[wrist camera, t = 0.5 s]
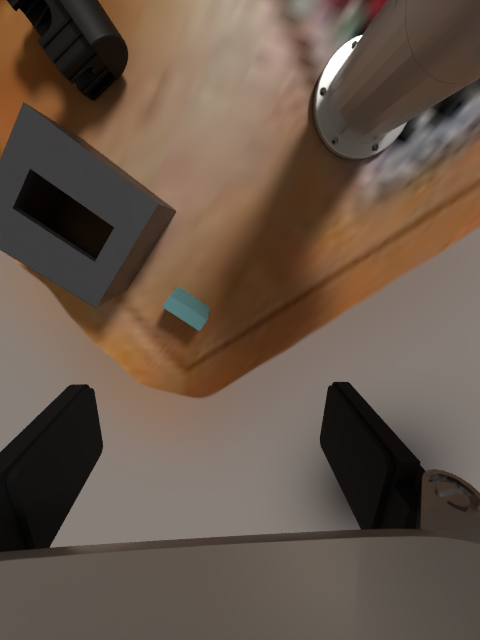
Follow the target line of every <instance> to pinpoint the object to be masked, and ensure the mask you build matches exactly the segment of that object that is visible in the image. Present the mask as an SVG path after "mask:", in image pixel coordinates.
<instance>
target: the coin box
mask: <svg viewBox="0 0 480 640" xmlns="http://www.w3.org/2000/svg"><path fill="white" fill-rule="evenodd" d="M66 194H67V195H69V196H70V197H71V198H73V199H74V200H76V201H77V202H79V203H80V204H81V205H83V206H84V207H86V208H87V209H89V210H90V211H91V212H93V213H94V214H96V215H97V216H99V217H100V218H101V219H103V220H104V221H106V222H107V223H109V224H110V225H111V226H113V227H114V229H113V231H112V232H111V234H110V236H109V238H108V239H107V241H106V243H105V245H104V247H103V248H102V250H101V252H100V254H99V255H98V257H97V259H95V258H94V257H92V256H91V255H89V254H88V253H86V252H85V251H83V250H82V249H80V248H79V247H77V246H75V245H74V244H72V243H71V242H69V241H68V240H66V239H65V238H63V237H62V236H60V235H59V234H57V233H56V232H54V231H53V230H51V229H49V228H50V225H51V223H52V221H53V219H54V217H55V215H56V213H57V211H58V209H59V207H60V205H61V203H62V201H63V199H64V197H65V195H66ZM175 212H176V210H175V209H173V208H172V207H171V206H169V205H168V204H167V203H165V202H164V201H163V200H161V199H160V198H159V197H158V196H156V195H155V194H154V193H152V192H151V191H150V190H148V189H147V188H146V187H144V186H143V185H142V184H141V183H139V182H138V181H137V180H135V179H134V178H133V177H131V176H130V175H129V174H128V173H126V172H125V171H124V170H122V169H121V168H120V167H118V166H117V165H116V164H114V163H113V162H112V161H111V160H109V159H108V158H107V157H105V156H104V155H103V154H101V153H100V152H99V151H97V150H96V149H95V148H94V147H92V146H91V145H90V144H88V143H87V142H86V141H84V140H83V139H82V138H80V137H78V136H77V135H75V134H74V133H72V132H70V131H69V130H67V129H66V128H64V127H62V126H61V125H59V124H58V123H56V122H55V121H53V120H51V119H50V118H48V117H47V116H45V115H43V114H42V113H40V112H39V111H37V110H35V109H34V108H32V107H31V106H29V105H27V104H26V103H24V102H23V105H22V107H21V109H20V112H19V114H18V117H17V119H16V122H15V124H14V127H13V129H12V132H11V134H10V137H9V139H8V142H7V144H6V147H5V149H4V151H3V154H2V156H1V159H0V250H1V251H3V252H4V253H6V254H8V255H9V256H11V257H13V258H14V259H16V260H18V261H19V262H21V263H23V264H24V265H26V266H28V267H29V268H31V269H32V270H34V271H36V272H37V273H39V274H41V275H42V276H44V277H46V278H47V279H49V280H51V281H52V282H54V283H56V284H57V285H59V286H61V287H62V288H64V289H66V290H67V291H69V292H70V293H72V294H74V295H75V296H77V297H79V298H80V299H82V300H84V301H85V302H87V303H89V304H90V305H92V306H94V307H95V308H97V307H98V306H100V305H102V304H103V303H105V302H107V301H109V300H110V299H112V298H114V297H115V296H117V295H119V294H120V293H122V292H124V291H125V290H127V289H128V288H129V286H130V285H131V283H132V281H133V280H134V278H135V277H136V275H137V273H138V272H139V270H140V269H141V267H142V265H143V264H144V262H145V260H146V259H147V257H148V256H149V254H150V252H151V251H152V249H153V248H154V246H155V244H156V243H157V241H158V240H159V238H160V236H161V235H162V233H163V232H164V230H165V228H166V227H167V225H168V224H169V222H170V220H171V219H172V217H173V216H174V214H175Z"/></svg>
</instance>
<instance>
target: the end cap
mask: <svg viewBox="0 0 480 640" xmlns="http://www.w3.org/2000/svg"><path fill="white" fill-rule="evenodd" d="M7 1H8V2H9V4H10V5H11V6H12V8H13V9H14V10H15V11H17V10H18V9H19V8H20V9H21V11H22V12H23V13H24V14H25V15H26V17H27V18H28V19H29V21H30V22H31V23H32V25H33V26H34V27H35V29H36V30H37V31H38V33H39V34H40V35H41V38H40V39H39V40H38V42H39V44H40V45H41V46H42V48H43V49H44V51H45V52H46V53H47V55H48V56H49V57H50V59H51V60H52V61H53V63H54V64H55V65H56V67H57V68H58V69H59V70H60V72H61V73H62V74H63V75H64V76H65V77H66V78H67V79H68V80H69V81H70V82H71V83H72V84H73V83H74V82H75V83H76V84H77V86H76V87H77V88H78V89H79V91H81V92H82V93H83V94H84V95H85V96H87V97H88V98H90V99H91V100H95V99H97V98H98V97H99V96H100V95H101V94H102V93H103V92H104V91H105V90H106V89H107V88H108V87H109V86H110V85H111V84H112V83H114V82H115V81H116V80H117V79H118V78H119V77H120V76H121V74H122V73H123V71H124V69H125V67H126V65H127V60H128V49H127V46H126V43H125V41H124V40H123V38H122V37H121V35H120V34H119V32H118V30H117V29H116V27H115V26H114V24H113V23H112V21H111V20H110V18H109V17H108V15H107V14H106V12H105V11H104V9H103V8H102V6H101V4H100V3H99V1H98V0H7Z"/></svg>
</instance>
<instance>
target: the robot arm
mask: <svg viewBox="0 0 480 640" xmlns="http://www.w3.org/2000/svg"><path fill="white" fill-rule="evenodd" d="M352 49H353V50H352ZM478 78H480V0H387V1H386V2H385V4H384V5H383V6H382V8H381V9H380V11H379V12H378V14H377V15H376V17H375V18H374V19H373V21H372V22H371V24H370V25H369V27H368V28H367V30H366V31H365V32H364V34H363V35H360V36H357V37H354V38H353V39H351V40H349V41H347V42H346V43H345V44H343V45H342V46H341V47H340V48H339V49H338V50H337V51H336V52H335V53H334V54H333V56H332V57H331V58H330V59H329V61H328V63H327V64H326V66H325V67H324V69H323V71H322V73H321V76H320V78H319V80H318V83H317V86H316V90H315V95H314V102H313V110H314V120H315V125H316V128H317V131H318V134H319V136H320V138H321V139H322V141H323V143H324V144H325V145H326V146H327V147H328V149H329V150H330V151H332V152H333V153H335V154H336V155H338V156H340V157H342V158H345V159H351V160H359V159H365V158H368V157H371V156H373V155H376V154H378V153H379V152H381V151H382V150H384V149H386V148H387V147H388V146H389V145H390V144H391V143H393V142H394V141H395V139H396V138H397V137H398V136H399V134H400V133H401V132H402V130H403V128H404V127H405V125H406V123H407V121H409V120H410V119H412V118H414V117H415V116H417V115H419V114H420V113H422V112H424V111H425V110H427V109H429V108H430V107H432V106H434V105H435V104H437V103H439V102H440V101H442V100H444V99H445V98H447V97H449V96H450V95H452V94H454V93H455V92H457V91H459V90H460V89H462V88H463V87H465V86H467V85H468V84H470V83H472V82H473V81H475V80H477V79H478ZM320 93H321V94H322V96H321V95H320ZM332 141H334V144H332ZM372 148H373V150H372ZM320 444H321V448H322V450H323V452H324V454H325V456H326V458H327V460H328V462H329V464H330V466H331V468H332V470H333V472H334V475H335V476H336V479H337V481H338V483H339V485H340V487H341V489H342V491H343V493H344V495H345V497H346V499H347V501H348V503H349V505H350V507H351V510H352V512H353V514H354V516H355V518H356V520H357V522H358V524H359V526H360V528H361V530H339V531H319V532H301V533H281V534H262V535H245V536H229V537H228V536H227V537H211V538H195V539H178V540H160V541H146V542H129V543H114V544H100V545H84V546H69V547H56V548H49V547H50V545H51V543H52V542H53V540H54V538H55V536H56V534H57V533H58V530H59V529H60V527H61V525H62V524H63V522H64V520H65V518H66V516H67V515H68V513H69V511H70V509H71V507H72V506H73V504H74V502H75V500H76V498H77V497H78V495H79V493H80V491H81V489H82V488H83V486H84V484H85V482H86V480H87V479H88V477H89V475H90V473H91V471H92V470H93V468H94V466H95V464H96V462H97V461H98V459H99V457H100V455H101V453H102V449H103V441H102V436H101V429H100V423H99V417H98V411H97V404H96V399H95V393H94V389H92V388H90V387H89V386H88V385H87V384H85V385H70V386H68V387H67V388H66V389H65V390H64V391H63V392H62V393H61V394H60V395H59V396H58V397H57V398H56V399H55V400H54V401H53V402H52V403H51V404H50V405H49V406H48V407H47V408H46V409H45V410H43V411H42V412H41V413H40V414H39V415H38V416H37V417H36V418H35V419H34V420H33V421H32V422H31V423H30V424H29V425H28V426H27V427H26V428H25V429H24V430H23V431H22V432H21V433H20V434H19V435H18V436H17V437H16V438H14V439H13V440H12V442H10V443H9V444H8V445H7V446H6V447H5V448H4V449H3V450H2V451H1V452H0V640H480V493H479V492H478V491H477V490H476V489H475V488H474V487H473V486H472V485H470V484H469V483H467V482H466V481H464V480H463V479H462V478H460V477H458V476H456V475H454V474H451V473H449V472H446V471H443V470H436V469H432V470H427V471H425V470H424V469H423V468H422V467H421V465H420V461H419V460H418V459H417V458H416V457H415V455H413V453H412V452H411V451H410V450H409V449H408V448H407V447H406V446H405V444H404V443H403V442H402V441H401V440H400V439H399V438H398V437H397V435H396V434H395V433H394V432H393V431H392V430H391V429H390V428H389V427H388V425H387V424H386V423H385V422H384V421H383V420H382V419H381V418H380V416H379V415H377V413H376V412H375V411H374V410H373V409H372V408H371V406H370V405H369V404H368V403H367V402H366V401H365V400H364V399H363V398H362V396H361V395H360V394H359V393H358V392H357V391H356V390H355V389H354V388H353V386H352V385H351V384H350V383H349V382H334V383H333V384H332V386H329V387H328V391H327V397H326V404H325V409H324V416H323V422H322V428H321V434H320Z"/></svg>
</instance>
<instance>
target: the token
mask: <svg viewBox="0 0 480 640" xmlns="http://www.w3.org/2000/svg"><path fill="white" fill-rule="evenodd" d="M163 308H164V309H166V310H168V311H169V312H171V313H172V314H174V315H175V316H177V317H178V318H180V319H181V320H183V321H184V322H186V323H188V324H189V325H191V326H192V327H194V328H195V329H197V330H198V331H200V329H201V328H202V327H203V325H204V324H205V323H206V321H207V320H208V315H209V310H210V308H209V307H208V306H207V305H205V304H204V303H202V302H201V301H199V300H198V299H196V298H195V297H193V296H192V295H190V294H189V293H188V292H186V291H185V290H183V289H182V288H180V287H179V286H178V287H177V288H176V289H175V291H174V292H173V293H172V294H171V295H170V296H169V298H168V299H167V301H166V302H165V304H164V305H163Z"/></svg>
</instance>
